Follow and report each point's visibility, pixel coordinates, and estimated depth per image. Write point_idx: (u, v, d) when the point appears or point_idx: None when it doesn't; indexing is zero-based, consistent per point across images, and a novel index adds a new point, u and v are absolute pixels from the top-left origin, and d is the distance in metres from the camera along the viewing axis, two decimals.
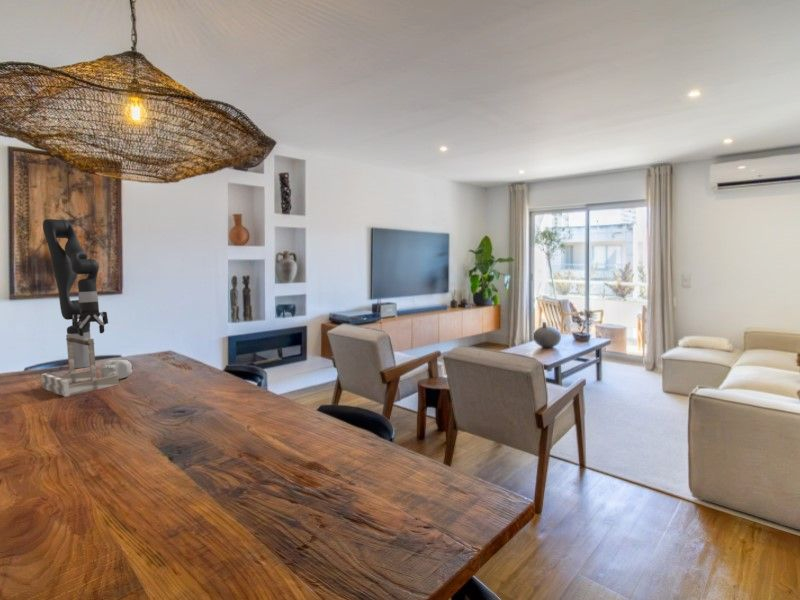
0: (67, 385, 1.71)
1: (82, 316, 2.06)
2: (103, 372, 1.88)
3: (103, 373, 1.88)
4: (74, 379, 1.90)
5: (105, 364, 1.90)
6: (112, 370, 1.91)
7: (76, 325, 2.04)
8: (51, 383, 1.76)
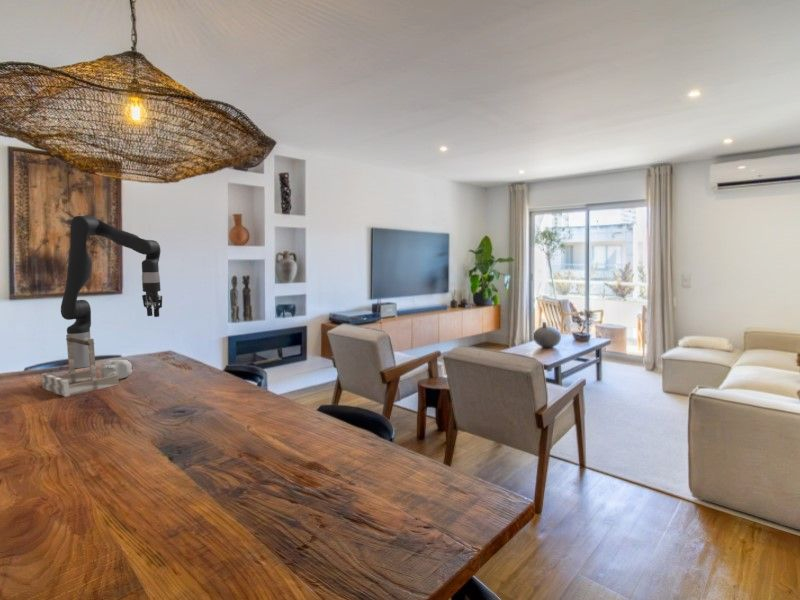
0: (67, 385, 1.71)
1: None
2: (103, 372, 1.88)
3: (103, 373, 1.88)
4: (74, 379, 1.90)
5: (105, 364, 1.90)
6: (112, 370, 1.91)
7: None
8: (51, 383, 1.76)
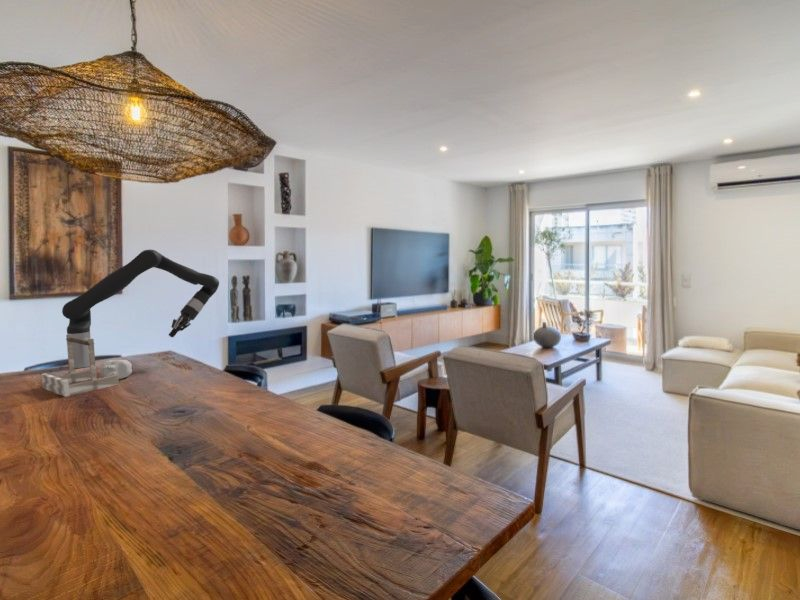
0: (67, 385, 1.71)
1: None
2: (103, 372, 1.88)
3: (103, 373, 1.88)
4: (74, 379, 1.90)
5: (105, 364, 1.90)
6: (112, 370, 1.91)
7: None
8: (51, 383, 1.76)
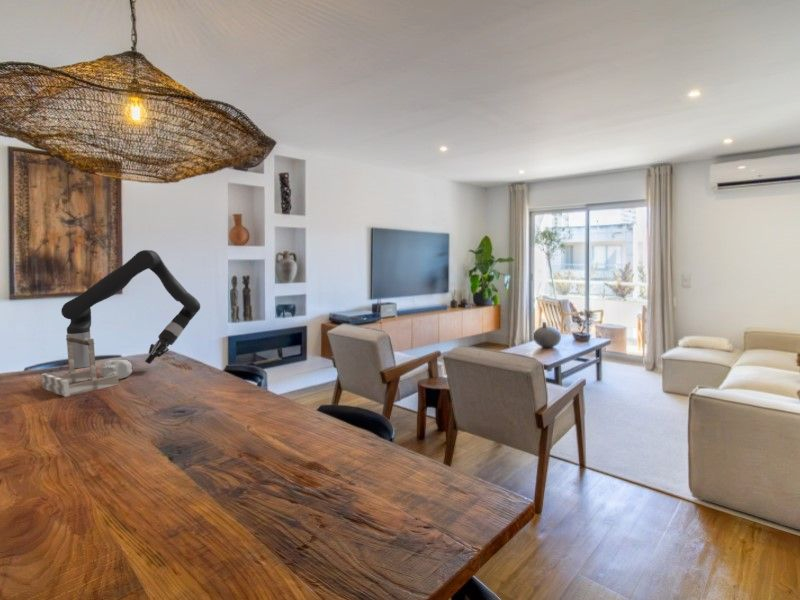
0: (67, 385, 1.71)
1: None
2: (103, 372, 1.88)
3: (103, 373, 1.88)
4: (74, 379, 1.90)
5: (105, 364, 1.90)
6: (112, 370, 1.91)
7: None
8: (51, 383, 1.76)
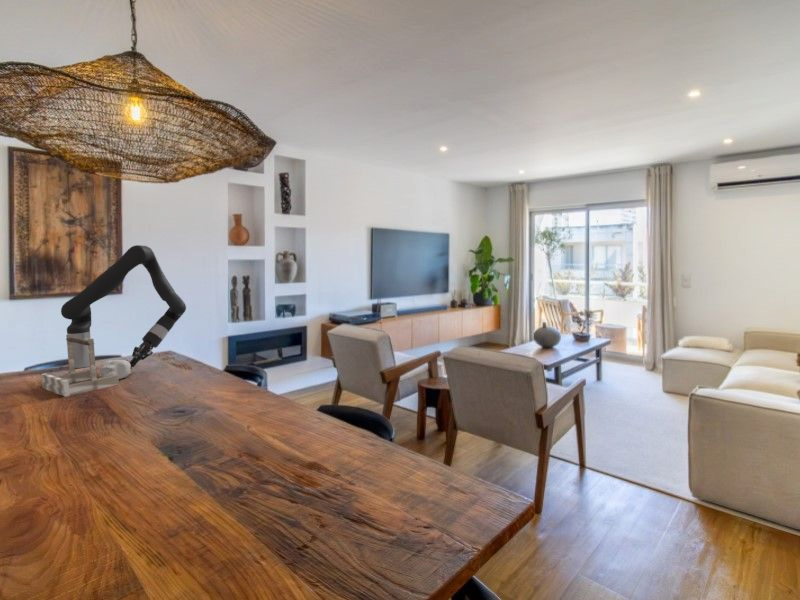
0: (67, 385, 1.71)
1: None
2: (102, 372, 1.88)
3: (102, 373, 1.88)
4: (74, 379, 1.90)
5: (104, 364, 1.90)
6: (111, 370, 1.90)
7: None
8: (51, 383, 1.76)
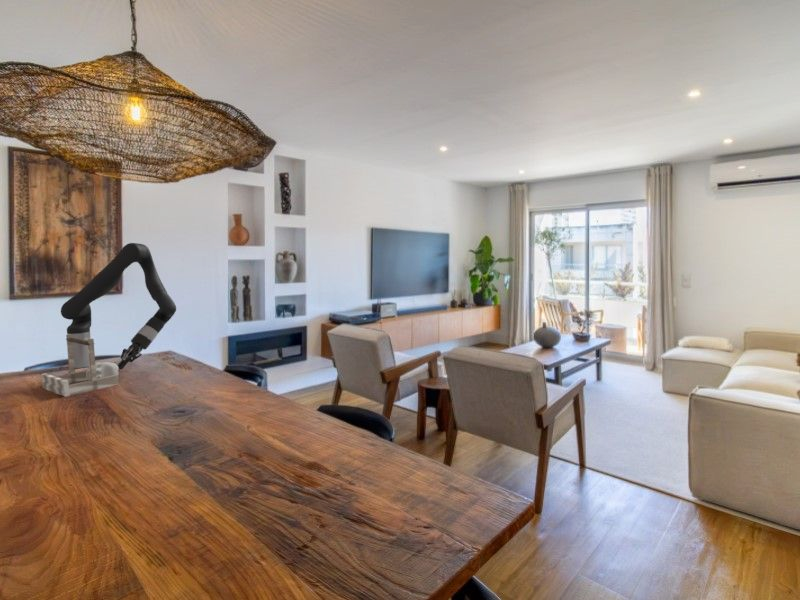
0: (67, 385, 1.71)
1: None
2: (88, 375, 1.83)
3: (88, 376, 1.83)
4: (74, 379, 1.90)
5: None
6: (98, 373, 1.86)
7: None
8: (51, 383, 1.76)
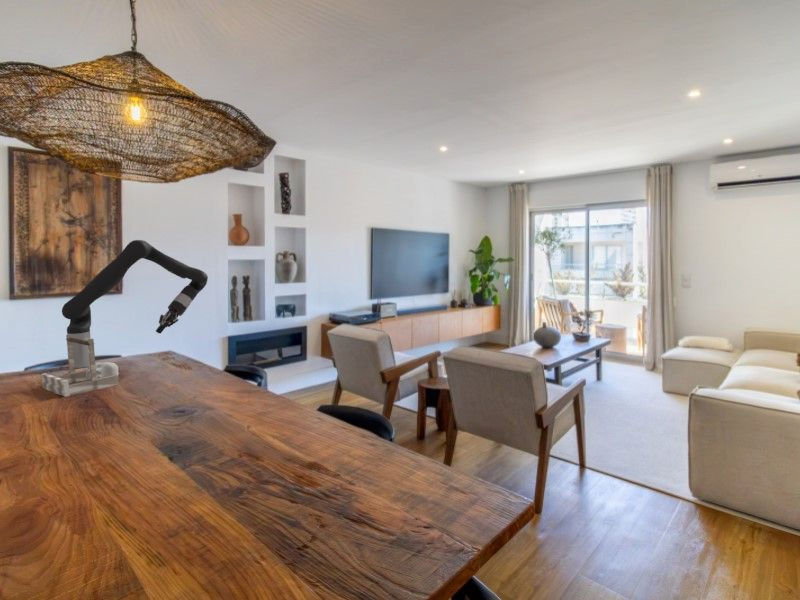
0: (67, 385, 1.71)
1: None
2: (88, 375, 1.83)
3: (88, 376, 1.83)
4: (74, 379, 1.90)
5: None
6: (98, 373, 1.86)
7: None
8: (51, 383, 1.76)
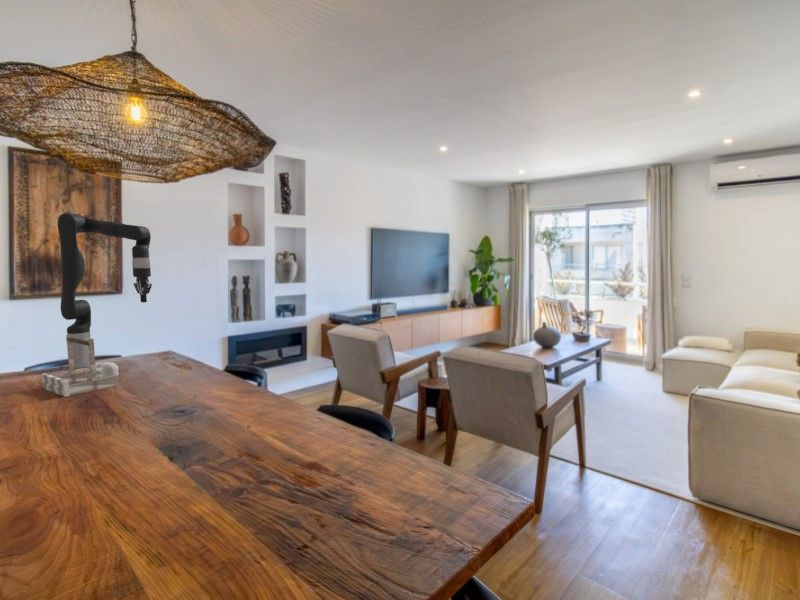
0: (67, 385, 1.71)
1: None
2: (88, 375, 1.83)
3: (88, 376, 1.83)
4: (74, 379, 1.90)
5: None
6: (98, 373, 1.86)
7: None
8: (51, 383, 1.76)
